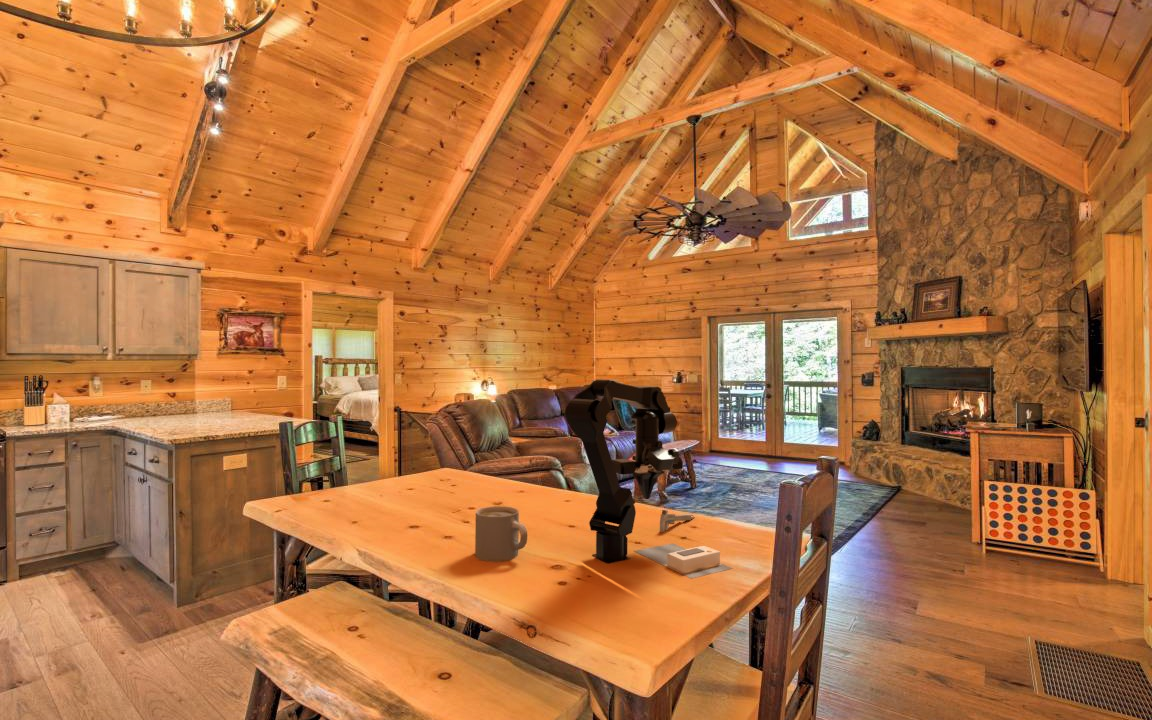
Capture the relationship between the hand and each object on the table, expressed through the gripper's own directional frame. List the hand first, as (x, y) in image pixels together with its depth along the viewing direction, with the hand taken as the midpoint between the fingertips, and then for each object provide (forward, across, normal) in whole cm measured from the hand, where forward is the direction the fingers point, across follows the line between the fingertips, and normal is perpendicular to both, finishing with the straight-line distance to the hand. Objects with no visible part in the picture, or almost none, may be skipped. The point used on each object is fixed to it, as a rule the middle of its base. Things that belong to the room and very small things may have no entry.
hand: (646, 498), depth 141 cm
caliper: (+12, +18, +10) cm, 23 cm away
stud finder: (+10, 0, -18) cm, 21 cm away
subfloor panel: (+11, -1, -14) cm, 18 cm away
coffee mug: (+11, -36, +7) cm, 38 cm away
